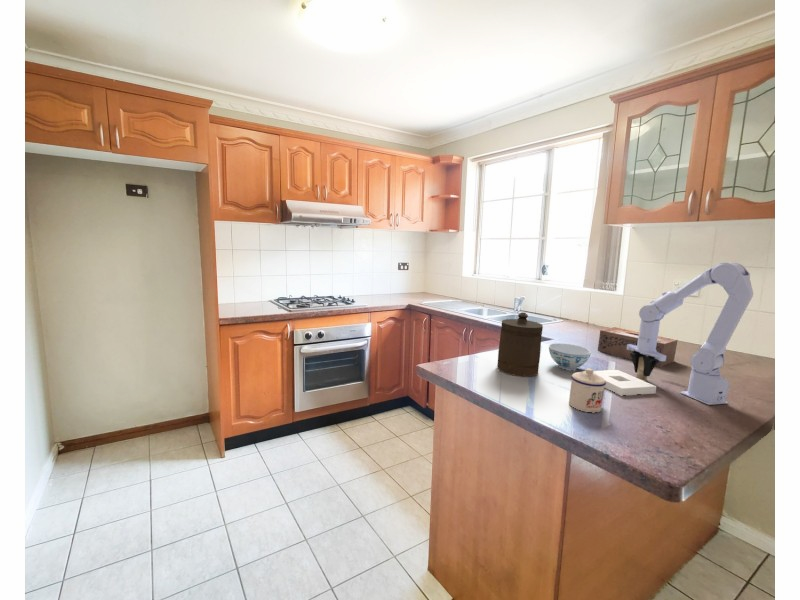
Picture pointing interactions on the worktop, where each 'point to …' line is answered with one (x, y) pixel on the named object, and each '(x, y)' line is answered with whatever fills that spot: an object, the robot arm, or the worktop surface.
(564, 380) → the worktop surface
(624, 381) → the socket plate
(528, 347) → the wooden container
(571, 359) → the chinaware
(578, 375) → the teacup with lid
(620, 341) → the tissue box cover
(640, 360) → the peg
